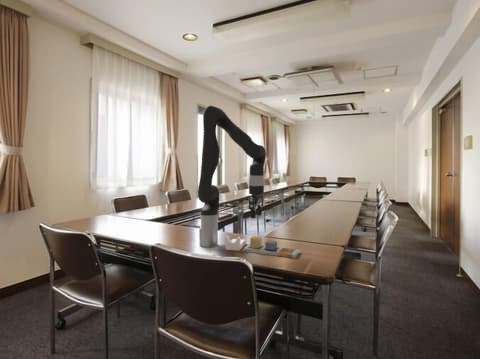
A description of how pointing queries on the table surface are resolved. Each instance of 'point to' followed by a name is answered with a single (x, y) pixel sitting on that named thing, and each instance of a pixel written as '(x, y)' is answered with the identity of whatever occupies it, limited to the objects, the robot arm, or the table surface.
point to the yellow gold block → (256, 242)
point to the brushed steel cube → (271, 245)
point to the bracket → (234, 243)
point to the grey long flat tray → (280, 252)
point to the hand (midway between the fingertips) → (256, 216)
